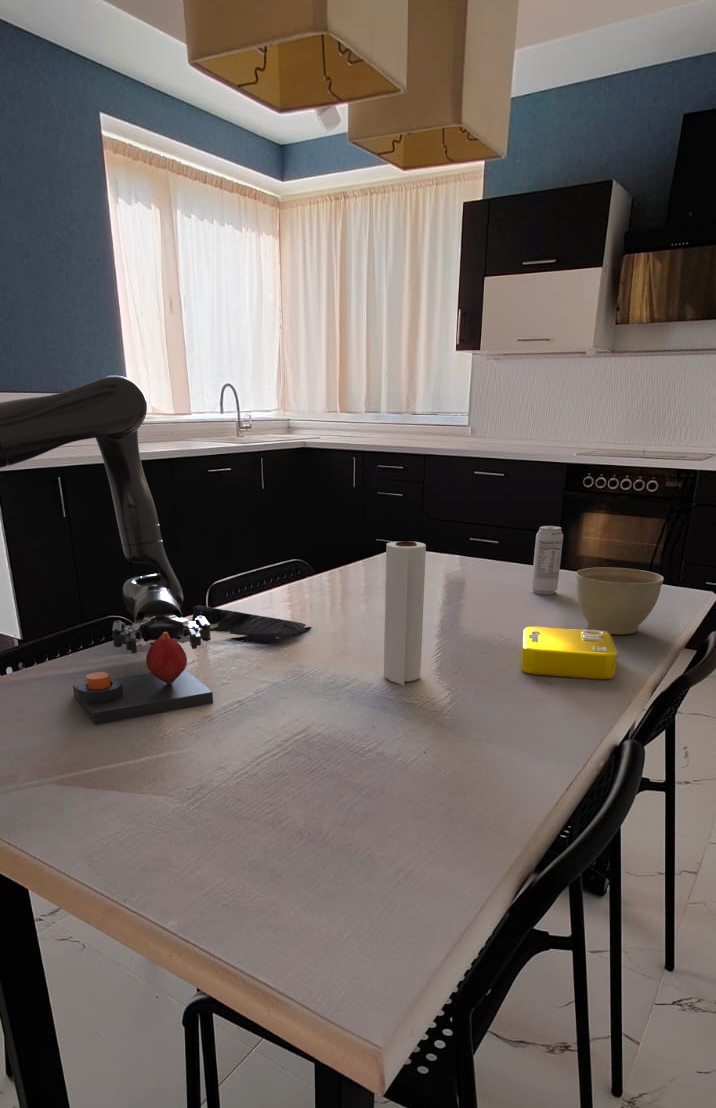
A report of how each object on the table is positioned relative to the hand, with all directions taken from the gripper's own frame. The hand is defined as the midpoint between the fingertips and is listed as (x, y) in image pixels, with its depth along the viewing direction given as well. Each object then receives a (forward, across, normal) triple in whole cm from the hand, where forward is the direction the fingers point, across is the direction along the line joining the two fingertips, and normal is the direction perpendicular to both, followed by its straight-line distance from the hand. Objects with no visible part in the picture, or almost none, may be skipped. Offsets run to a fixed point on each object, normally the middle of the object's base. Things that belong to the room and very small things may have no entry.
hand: (164, 644), depth 111 cm
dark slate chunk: (-33, +17, +9) cm, 38 cm away
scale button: (0, -10, +5) cm, 11 cm away
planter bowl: (-17, +87, +8) cm, 89 cm away
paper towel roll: (-1, +36, +9) cm, 38 cm away
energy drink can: (-50, +90, +8) cm, 103 cm away
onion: (-2, 0, +7) cm, 7 cm away
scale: (-1, -4, +9) cm, 9 cm away
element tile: (0, +66, +8) cm, 67 cm away
